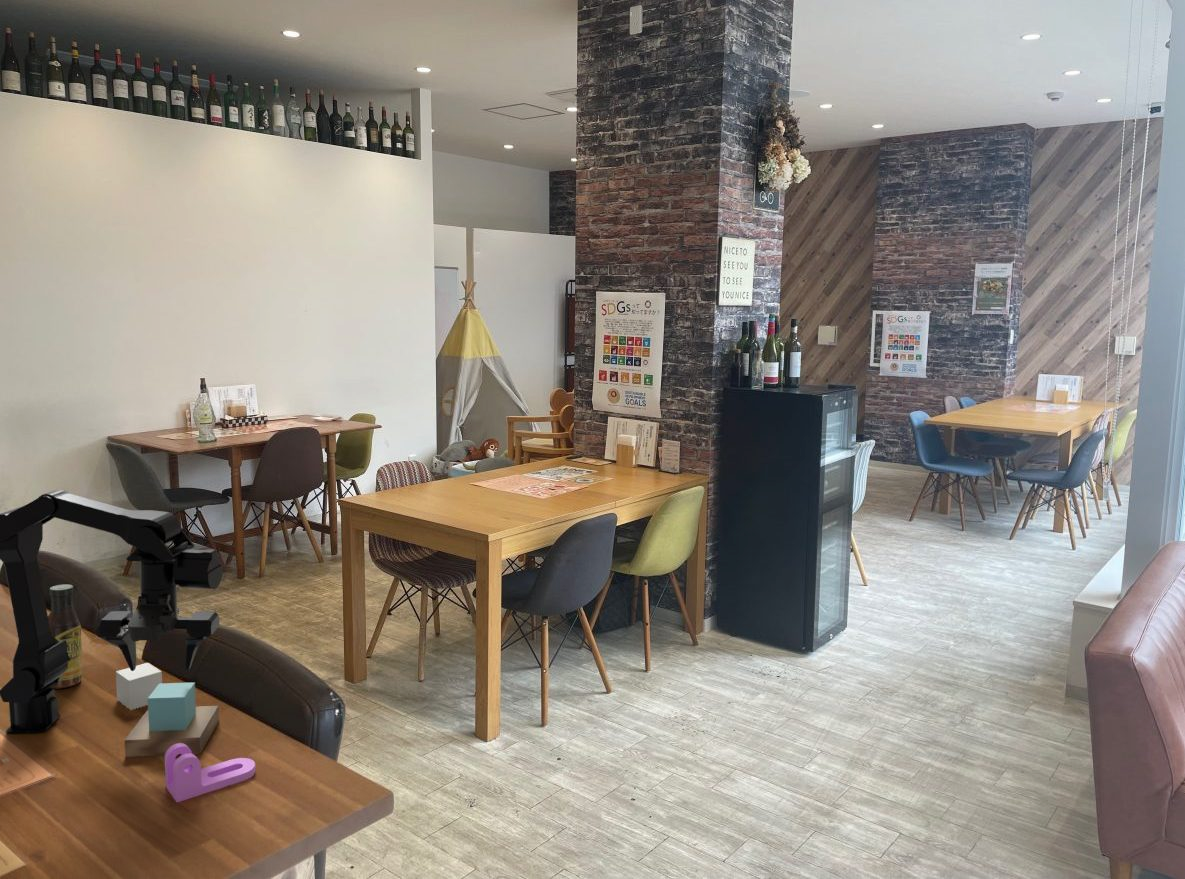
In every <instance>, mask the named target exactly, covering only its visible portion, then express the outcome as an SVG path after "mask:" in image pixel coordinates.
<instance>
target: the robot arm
mask: <svg viewBox="0 0 1185 879" xmlns="http://www.w3.org/2000/svg"><path fill="white" fill-rule="evenodd" d="M55 518H56V519H60V520H62V521H66V522H70V523H73V524H77V525H80V526H85V527H88V528H90V529H96V530H99V531H102V532H106V533H110V534H113V535H115V536H117V537H120V538H121V539H122V540H123V541H124V542H125V543H126V544H128V545H130V546H132V547H134V548H135V549H134V551H133V552H131V554H130V555H128V556H127V557H126V558H125V559H126V561H128V562H136V563H137V562H138V563H139V581H140V582H139V584H140V589H139V590H140V594H139V595H138V596H137V605H136V609H135V611H134V612H132V611H131V610H125V611H124V610H120V611H119V610H115V611H114V610H112V611H110V612H108V614H106V615H105V616H104V617H103V618H102V619H100V620H99V621H98V623H97V626H96V631H97V632H96V635H97V637H99V638H105V640H106V641H107V642H112V643H114V644H116V645H117V647H118V648H119V650H120V651H121V653H122V654H123V657H124V659H125V661H126V663H127V665H128V668H130V670H131V671H134V670H135V668H136V666H137V642H139V641H150V642H157V641H159V640H161V639H162V636H163V634H165V633H167V632H168V633H172V632H173V631H174V630H186V633H187V634H188V635H187V636H186V637H185V643H186V651H185V652H186V653H185V671H187V672H188V671H190V669H191V667H192V665H193V662H194V658H195V656H196V654H197V651H198V649H199V646H200V643H201V641H204V640H205V639H206V638H207V637H208V638H209V637H210V636H212V635H213V634H214V633H215V632H216V631H217V629H218V628H219V626H220V615H219V614H218V613H217V612H216V610H215V611H211V610H210V611H205V610H204V611H203V610H202V611H201V610H200V611H199V610H197V611H195V612H194V613H193V614H191V616H190V617H178V615H179V614H180V607H178V593H179V592H180V591H179V589H180V588H184V589H185V588H186V589H201V590H203V589H204V590H216V589H218V587H219V586H220V584H221V581H222V578H223V573H224V565H223V564H222V561H221V558H220V557H219V556H218V555H217V553H218V552H217V550H216V549H213V548H211V549H208V548H207V549H195V544H194V543H193V542H192V540H191V539H190V538H189V536H188V535H187V534H186V532H185V531H184V530H183V528H182V527H181V524H180V521H179V520H178V517H177V516H176V515H175V514H174V513H172V512H168V511H161V510H151V509H146V510H145V509H144V510H143V509H142V510H134V509H133V510H132V509H127V508H122V507H120V506H115V505H112V504H109V503H104V502H101V501H97V500H94V499H91V498H86V497H84V496H80V495H76V494H72V493H69V492H68V491H65V490H63V489H55V490H52V491H49V492H46V493H44V494H41V495H39V496H38V497H37V498H35V499H34V500H32V501H31V502H29V503H27V504H25V505H23V506H19V507H17V508H13V509H9V510H8V511H4V512H2V513H0V561H1V562H2V563H3V566H4V568H5V576H6V579H7V580H6V581H7V586H8V591H9V596H10V601H11V602H10V603H11V607H12V612H13V617H14V623H15V624H14V625H15V628H16V629H15V630H16V632H17V640H18V644H17V646H16V650H15V652H14V656H13V659H12V678H11V679H10V680H8V682H6V684H5V685H4V686H2V687H1V689H0V698H1V700H2V702H3V703H8V709H9V710H8V711H9V724H10V726H8V727H7V729H6V730H5V733H6V734H23V733H24V734H25V733H44V732H46V731H47V730H48V729H50V727H52V725H53V724H54V723H55V722H56V721H57V720H58V719H59V718H60V717H61V714H60V712H59V702H58V697H57V695H55V688H51V687H52V686H54V685H55V684H58V683H59V680H60V677H61V676H62V675H63V674H64V672H65V671H66V670H67V668H68V662H69V661H70V660H71V659H70V657H69V655H68V652H67V642H66V640H62V641H58V640H57V639H56V638H55V637H54V636H53V635H52V634H51V631H50V626H49V621H48V616H49V614H48V611H47V605H46V604H47V603H46V600H45V593H44V589H43V588H44V587H43V582H42V578H41V572H40V567H39V561H38V554H39V551H40V549H41V544H42V543H43V539H44V538H43V534H44V530H43V529H44V527H43V526H44V525H45V524H47V523H48V522H50V521H52V520H53V519H55ZM172 543H173V544H174V545H172V546H170V547H169V548H168V545H170V544H172Z"/></svg>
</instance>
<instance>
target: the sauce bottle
mask: <svg viewBox="0 0 1185 879" xmlns="http://www.w3.org/2000/svg"><path fill="white" fill-rule="evenodd" d="M73 595H74V586H73V585H72V584H57V585H54V586H51V587H50V588H49V596H50V610H51V611H50V613H49V614H48V621H49V626H50V631H51V634H52V635H53V636H54V637H55V638H56V639H57V640H58V641H62V640H66V642H67V652H68V655H69V657H70V659H71V660H70V661H69V662H68V668H67V670H66V671H65V672H64V674H63V675H62V676H61V677H60V680H59V683H58V684H55V685H54V686H52V687H51V688H54V689H64V688H70V687H72V686H73V687H74V686H76V685H78V684H79V683H80V682H81V681H82V678H83V676H82V674H83V654H82V653H83V652H82V651H83V650H82V649H83V648H82V646H83V645H82V625H81V623H80V620H79V617H78V616H77V613H76V611H75V607H74V600H73V599H74V598H73V597H74V596H73Z"/></svg>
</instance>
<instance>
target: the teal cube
mask: <svg viewBox="0 0 1185 879" xmlns="http://www.w3.org/2000/svg"><path fill="white" fill-rule="evenodd" d="M196 705H197V702H196V682H170V683H169V682H168V683H166V682H164V683H163V682H162V683H160V684H158V686H157V687H156V688H155V690H154V691H153V692H152V693H151V695H150V696H149V697H148V705H147V710H148V718H149V731H168V730H186V729H187V727H188V726H189V724H190V723H191V721H192V719H193V718H194V716H195V715H196V707H197V706H196Z"/></svg>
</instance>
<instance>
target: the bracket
mask: <svg viewBox="0 0 1185 879" xmlns="http://www.w3.org/2000/svg"><path fill="white" fill-rule="evenodd" d="M178 754H181V755H180V756H179V755H178ZM177 756H179V757H177ZM176 757H177V758H176ZM164 773H165V774H164V776H165V788H166V789H167V791H168V792H169V794H170V795H171V796H172V798H173V800H174V801H175V802H176V803H180V802H182V801H186V800H188V799H192V798H195V797H197V796H200V795H201V796H202V795H204V794H206V793H207V794H208V793H211V792H214V791H216V790H219V789H220V790H221V789H222V788H225V787H229V786H232V785H235V784H238V783H241V782H243V781H247V780H249V779H250V778H252V777H253V776H254V775H255V774H256V762H255V761H254V760H253V759H251V758H248V757H247V758H246V757H237V758H232V759H229V760H226V761H222V762H218V763H217V764H212V765H209V766H207V767H203V768H202V764H201V760H200V759H198V757H197V756H196V754H192V752H191V750H190V749H189V747H188V746H187V745H186V744H183V743H177V744H174V745H172V746H171V747H170V748H169V749H168V750H167V751H166V753H165V755H164ZM254 773H255V774H254ZM248 778H249V779H248ZM246 779H247V780H246ZM228 785H229V786H228Z"/></svg>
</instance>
